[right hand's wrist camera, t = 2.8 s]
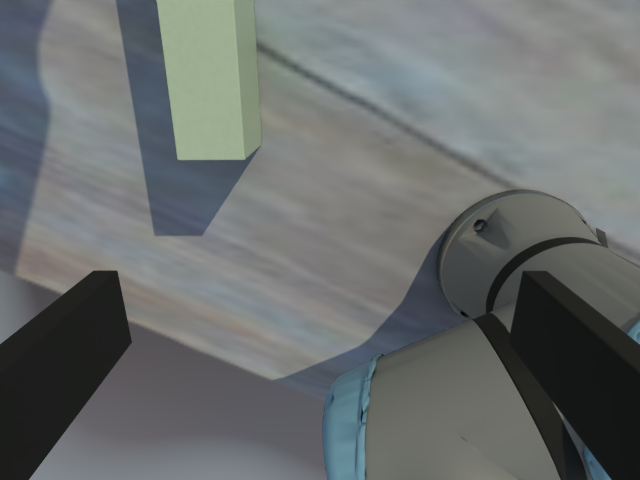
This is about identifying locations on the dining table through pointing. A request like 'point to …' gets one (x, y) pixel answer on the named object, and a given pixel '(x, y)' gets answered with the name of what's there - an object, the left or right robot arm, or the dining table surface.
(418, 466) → the right robot arm
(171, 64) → the sage box
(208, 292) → the dining table surface
